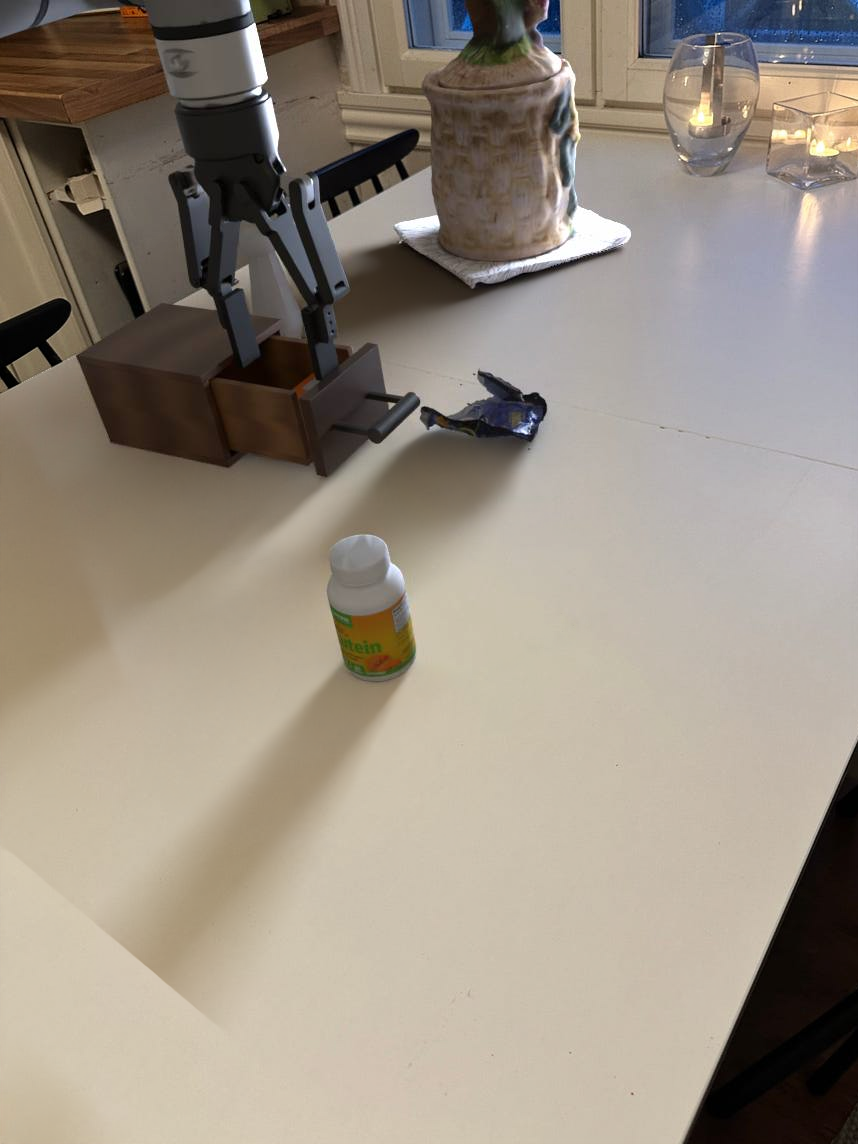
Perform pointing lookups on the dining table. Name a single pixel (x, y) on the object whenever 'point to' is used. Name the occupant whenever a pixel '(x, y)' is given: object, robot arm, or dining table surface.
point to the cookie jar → (505, 154)
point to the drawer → (307, 405)
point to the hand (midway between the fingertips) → (287, 367)
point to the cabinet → (166, 381)
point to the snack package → (494, 412)
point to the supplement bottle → (370, 609)
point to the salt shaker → (269, 282)
